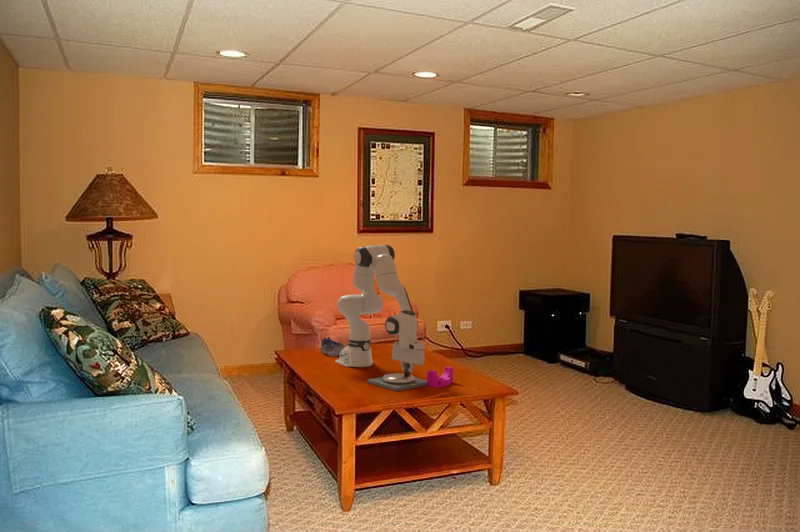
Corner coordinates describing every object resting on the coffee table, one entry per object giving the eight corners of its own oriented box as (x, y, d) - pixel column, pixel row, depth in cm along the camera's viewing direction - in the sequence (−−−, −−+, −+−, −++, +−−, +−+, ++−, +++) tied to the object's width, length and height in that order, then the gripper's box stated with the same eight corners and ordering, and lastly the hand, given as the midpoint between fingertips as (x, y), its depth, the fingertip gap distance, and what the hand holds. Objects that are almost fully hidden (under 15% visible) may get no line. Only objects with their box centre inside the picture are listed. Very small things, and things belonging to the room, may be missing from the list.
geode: (313, 353, 396) (313, 337, 396) (330, 351, 403) (330, 335, 402) (330, 359, 380) (330, 342, 379) (347, 357, 387) (347, 340, 386)
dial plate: (367, 382, 323) (367, 379, 323) (400, 376, 338) (400, 373, 338) (396, 391, 307) (397, 387, 307) (430, 384, 321) (430, 381, 321)
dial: (397, 385, 311) (397, 369, 310) (375, 379, 323) (376, 364, 322) (422, 380, 322) (422, 365, 321) (400, 374, 333) (400, 360, 333)
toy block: (436, 388, 315) (436, 372, 315) (427, 386, 320) (427, 370, 319) (456, 383, 326) (457, 368, 325) (447, 381, 330) (447, 366, 330)
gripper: (389, 341, 330) (388, 368, 331) (417, 347, 315) (417, 375, 316) (398, 340, 335) (397, 366, 335) (426, 345, 320) (426, 373, 320)
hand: (407, 371), depth 326 cm, fingers closed on dial, 3 cm apart
